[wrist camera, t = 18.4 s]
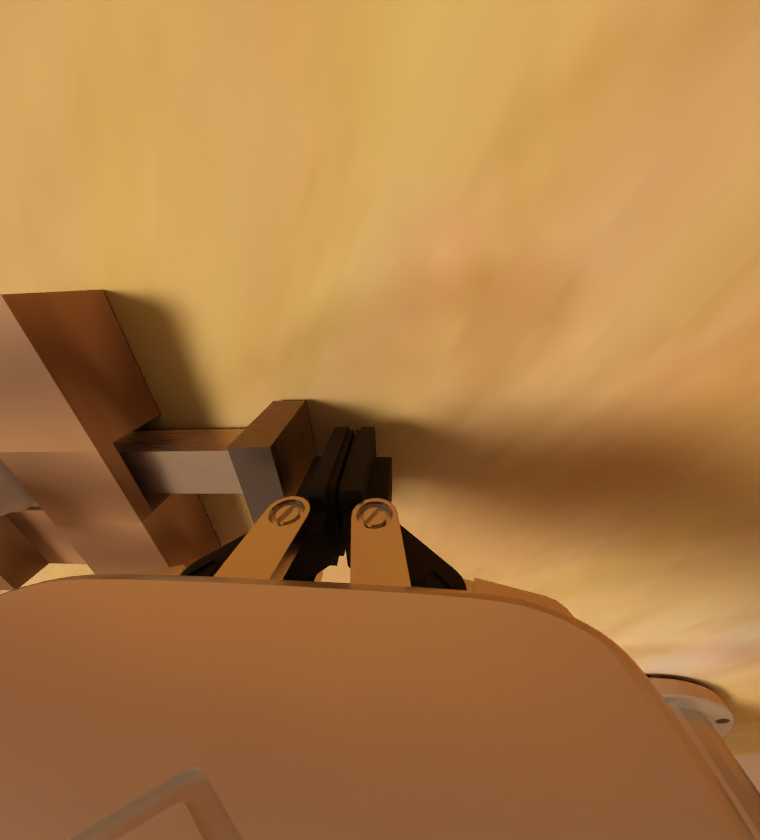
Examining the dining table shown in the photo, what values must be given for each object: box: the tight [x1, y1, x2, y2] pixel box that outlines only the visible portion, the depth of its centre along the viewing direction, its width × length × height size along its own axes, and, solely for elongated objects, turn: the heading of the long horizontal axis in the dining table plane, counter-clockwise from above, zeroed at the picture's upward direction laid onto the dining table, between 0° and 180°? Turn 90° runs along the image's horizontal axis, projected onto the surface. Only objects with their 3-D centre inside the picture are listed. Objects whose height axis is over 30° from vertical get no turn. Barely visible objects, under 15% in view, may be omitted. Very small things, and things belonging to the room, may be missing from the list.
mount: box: [0, 290, 221, 590], centre depth 13 cm, size 14×14×3 cm
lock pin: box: [113, 400, 316, 524], centre depth 12 cm, size 5×11×4 cm, turn 93°
